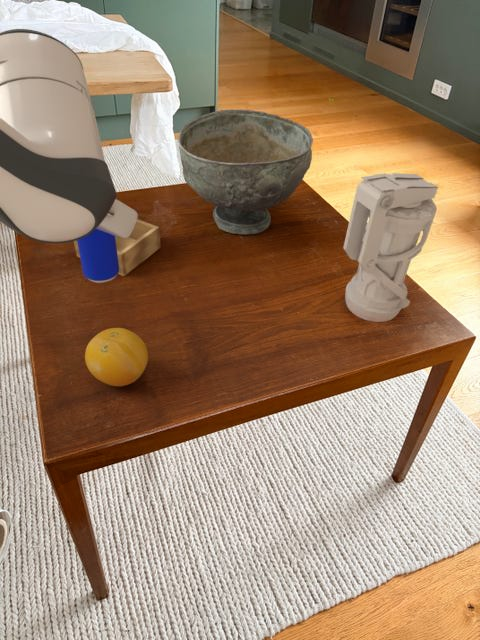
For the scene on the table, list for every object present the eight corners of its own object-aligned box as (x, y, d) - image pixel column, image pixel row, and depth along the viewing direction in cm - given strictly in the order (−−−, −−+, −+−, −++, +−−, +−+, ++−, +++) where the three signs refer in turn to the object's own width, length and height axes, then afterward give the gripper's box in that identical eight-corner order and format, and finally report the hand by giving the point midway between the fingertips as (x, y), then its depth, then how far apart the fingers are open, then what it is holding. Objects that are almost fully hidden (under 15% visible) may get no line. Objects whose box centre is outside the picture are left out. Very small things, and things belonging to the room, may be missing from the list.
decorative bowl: (296, 192, 120) (305, 107, 106) (311, 254, 101) (323, 161, 88) (187, 192, 119) (182, 107, 106) (181, 254, 101) (173, 161, 87)
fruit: (80, 389, 72) (70, 350, 67) (103, 351, 78) (96, 312, 73) (137, 401, 71) (132, 363, 65) (157, 362, 77) (154, 324, 71)
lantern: (376, 281, 95) (412, 156, 79) (413, 314, 89) (461, 184, 72) (320, 298, 91) (347, 169, 74) (355, 334, 84) (393, 200, 67)
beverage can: (127, 271, 74) (115, 177, 64) (102, 288, 71) (86, 192, 61) (101, 259, 76) (87, 166, 66) (76, 275, 72) (56, 180, 63)
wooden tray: (124, 276, 93) (121, 254, 89) (76, 256, 96) (72, 235, 93) (160, 247, 100) (159, 226, 97) (115, 230, 104) (112, 210, 101)
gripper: (107, 174, 51) (167, 218, 64) (-29, 128, 58) (50, 176, 71) (83, 230, 51) (148, 263, 64) (-50, 178, 58) (33, 217, 71)
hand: (96, 217), depth 68 cm, fingers closed on beverage can, 5 cm apart
